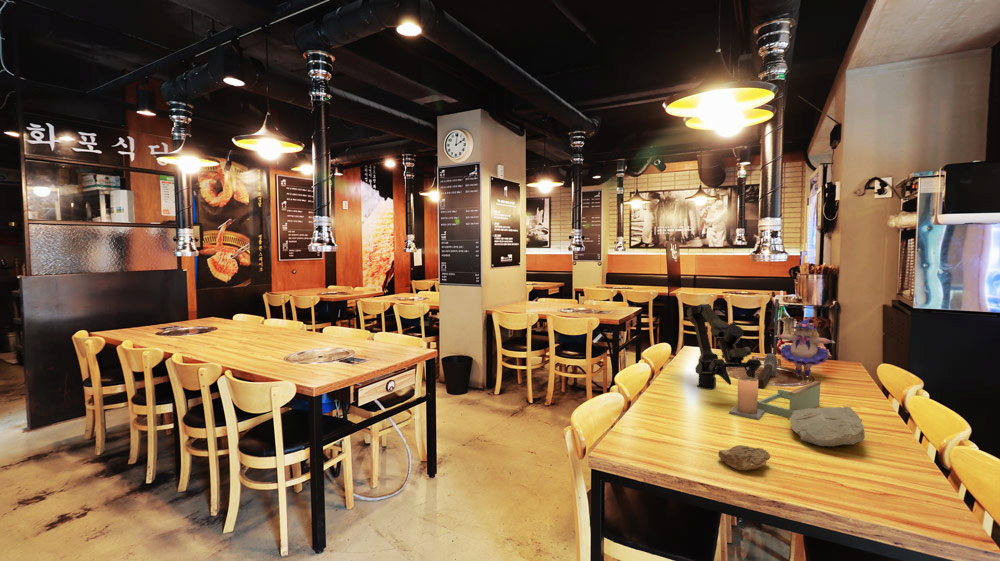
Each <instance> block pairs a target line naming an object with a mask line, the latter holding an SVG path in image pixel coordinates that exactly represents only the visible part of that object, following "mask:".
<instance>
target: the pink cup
mask: <svg viewBox="0 0 1000 561" xmlns="http://www.w3.org/2000/svg"><path fill="white" fill-rule="evenodd" d="M758 396H759V388H758V379H757V378H756V377H755V378H752V377H748V376H739V377H738V378H737V403H736V405H737V410H738V411H740V412H742V413H747V414H756V413H757V404H758V401H759V399H758V398H759V397H758Z"/></svg>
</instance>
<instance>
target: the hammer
mask: <svg viewBox="0 0 1000 561" xmlns="http://www.w3.org/2000/svg"><path fill="white" fill-rule="evenodd" d="M777 368H778V359H777V355H776V354H775V353H767V354H766V355H765V358H764V362H763V369H762V370H761V371H760V372H759V374H758V376H757V378H756V379H758V389H762V388H763V389H765V388H766V387H767V384H768V382H769V380H770V378H771V377H772V376H773V377H772V378H775V376H776V375H777V371H778V369H777ZM763 389H762V390H763Z"/></svg>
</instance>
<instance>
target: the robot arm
mask: <svg viewBox="0 0 1000 561" xmlns="http://www.w3.org/2000/svg"><path fill="white" fill-rule="evenodd" d="M686 315H687V317H688V320H689V322H690V323H691V324H692V325H694V329H695V330H694V331H695V335H696V339H697V343H698V348H699V352H700V356H699V357H698V363H697V364H696V366H695V369H694V370H695V374H696V373H697V374H698V384H697V388H702V389H706V390H713V389H716V387H717V377H716V376H719V377H720V378H721V379H723V380H724V381H725V382H726V383H727V384H728V385H729V386H731V385H732V382H731V378H730V376H729V373H728V371H727V370H728V369H727V368H744V370H745V374H746V375H747V376H746V377H752V378H756V376H755V375H756V371H757V370H759V368H761V366H762V362H761V360H760V359H758V358H749V359H748V360H747V361H745V357H746V358H747V357H748V356H750V355H752V351H751V350H752V349H751V348H750V347H749V346H744V347H742V348H739V347H738V348H737V346H736V344H737V343H738V342H739V341H740V339H742V337H743V336H744V333H745V331H744V329H743V328H741V326H739V325H737V324H736V323H735V322H731V323H728V321H724V320H722V319H721V318H720V317H719V316H718V314H717V313H716V312H715V311H714V310H713V309H712V305H711V304H708V303H707V304H704V303H702V304H701V303H700V304H698V305H694V306H689V308H688V309H687V310H686ZM706 322H707V323H708V324H709V326H710V333H711V335H712V336H713V337H714V338H720V339H718V340H717V343H716V346H717V347H719V348H720V351H721V358H719V355H718V354H717V353H714V352H713V351H712V347H711V342H710V339H709V335H708V330H707V329H708V328H707V327H706ZM743 361H745V362H743Z"/></svg>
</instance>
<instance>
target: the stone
mask: <svg viewBox="0 0 1000 561" xmlns="http://www.w3.org/2000/svg"><path fill="white" fill-rule="evenodd" d="M789 419H790V425H791V427H792V428H791V429H792V431H793V432H795V433H796V434H798V435H799V436H800V440H801V441H803V442H806V443H810V444H812V445H816V446H819V447H837V446H840V445H841V446H842V445H855V444H856V443H860V442H861V443H862V442H863V441H864V440H865V437H866V435H865V426H864V424H863V423H862V422H863V421H862V418H860V416H859V415H858V414H857V412H856V411H855V410H853V409H852V407H851V406H844V407H841V406H836V407H835V406H833V407H831V406H829V407H828V406H827V407H816V408H806V409H802V410H793V412H792V415H791V417H790V418H789Z"/></svg>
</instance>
